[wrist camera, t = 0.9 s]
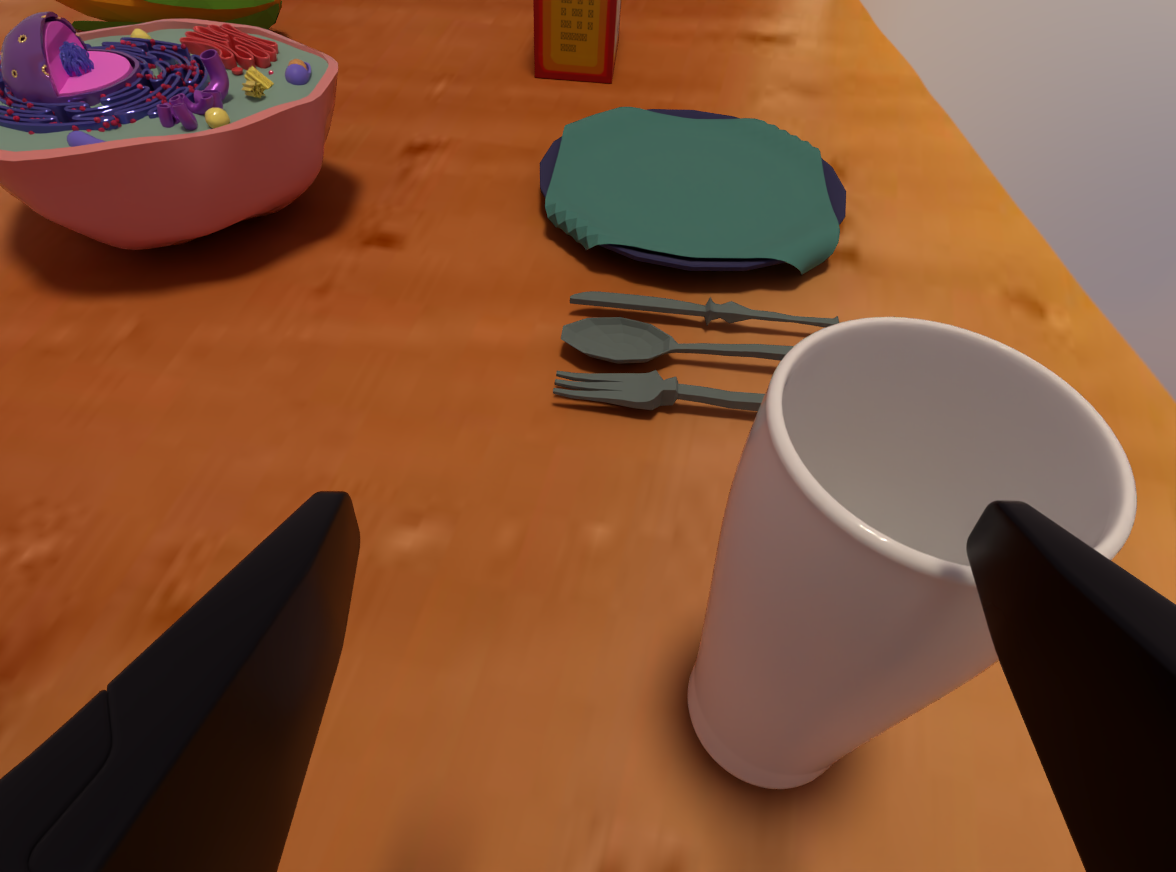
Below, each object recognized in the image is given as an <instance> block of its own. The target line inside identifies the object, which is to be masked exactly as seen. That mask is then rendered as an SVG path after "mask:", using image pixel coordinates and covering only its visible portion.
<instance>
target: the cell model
mask: <svg viewBox="0 0 1176 872" xmlns="http://www.w3.org/2000/svg"><path fill="white" fill-rule="evenodd" d="M337 76H338V63H337V62H336V61H335V60H334V59H333V58H332V57H330V56H328V55H326V54H324V53H323V52H321V51H318V50H316V49H313V48H311V47H308V46H306V45H303V44H301V43H298V42H296V41H294V40H291V39H289V38H286V37H284V36H282V35H279V34H277V33H275V32H272V31H270V30H266V29H263V28H260V27H255V26H249V25H242V24H233V23H225V22H216V21H208V20H200V19H162V20H156V21H151V22H146V23H141V24H135V25H127V26H119V27H111V28H103V29H97V30H92V31H86V32H80V33H77V31H76V30H75V29H74V27H73V26H72V25H71V24H70V22H69V21H67V20H66V19H65V18H62V17H61V18H60V17H58V15H57V14H55V13H54V12H40V13H36V14H33V15H31V16H29V17H27V18H26V19H24V20H23V21H21V22H20V23H19V24H18V25H17V26H16V27H14V28H13V29H12V30H11V31H10V32H9V33H8V35H7V36H6V37H5V39H4V42H3V45H2V50H1V51H0V186H1V187H2V188H3V189H5V190H6V191H7V192H8V193H9V194H11V195H12V196H14V197H15V198H17V199H18V200H20V201H21V202H22V203H24V204H25V205H26V206H28V207H29V208H30V209H31V210H33V211H34V212H35V213H37V214H39V215H40V216H42V217H44V218H45V219H47V220H49V221H52V222H54V223H56V224H59V225H61V226H63V227H66V228H68V229H70V230H73V231H75V232H77V233H80V234H82V235H84V236H87V237H89V238H91V239H94V240H96V241H98V242H101V243H104V244H107V245H110V246H113V247H116V248H122V249H127V250H145V249H151V248H158V247H165V246H171V245H177V244H182V243H186V242H189V241H191V240H194V239H197V238H199V237H201V236H205V235H209V234H211V233H214V232H217V231H219V230H222V229H224V228H226V227H228V226H231V225H233V224H235V223H237V222H240V221H244V220H247V219H251V218H254V217H259V216H265V215H269V214H272V213H275V212H278V211H280V210H281V209H283V208H285V207H287V206H289V205H290V204H291V203H292V202H293V201H295V200H296V199H297V198H298V197H299V196H301V195H302V194H303V193H304V192H305V191H306V190H307V189H308V188H309V187H310V185H311V184H312V183H313V182H314V181H315V179H316V177H317V175H318V173H319V171H320V170H321V166H322V162H323V155H324V145H325V142H326V139H327V136H328V133H329V130H330V126H331V121H332V116H333V111H334V106H335V97H336V86H337Z"/></svg>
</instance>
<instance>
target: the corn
mask: <svg viewBox="0 0 1176 872" xmlns="http://www.w3.org/2000/svg"><path fill="white" fill-rule="evenodd" d="M56 1H58V2H60V3H62V4H64V5H65V6H68V7H70V8H72V9H74V10H76V11H78V12H81V13H83V14H85V15H87V16H90V17H94V18H97V19H101V20H104V21H108V22H103V21H74V22H73V23H72V26H73V27H74V28H75V29H78V30H82V31H85V32H86V31H92V30H97V29H103V28H111V27H119V26H127V25H135V24H141V23H146V22H151V21H156V20H162V19H200V20H208V21H216V22H225V23H233V24H242V25H249V26H255V27H260V28H263V29H266V30H268V29H269V28H270V27H271V26H272V25H273V24H275V23H276V20H277V17H278V15H279V12H280V10H281V8H282V1H281V0H56Z"/></svg>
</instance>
